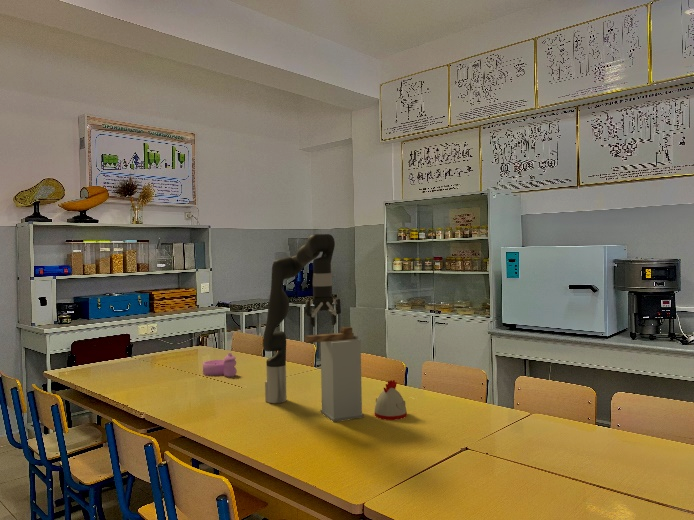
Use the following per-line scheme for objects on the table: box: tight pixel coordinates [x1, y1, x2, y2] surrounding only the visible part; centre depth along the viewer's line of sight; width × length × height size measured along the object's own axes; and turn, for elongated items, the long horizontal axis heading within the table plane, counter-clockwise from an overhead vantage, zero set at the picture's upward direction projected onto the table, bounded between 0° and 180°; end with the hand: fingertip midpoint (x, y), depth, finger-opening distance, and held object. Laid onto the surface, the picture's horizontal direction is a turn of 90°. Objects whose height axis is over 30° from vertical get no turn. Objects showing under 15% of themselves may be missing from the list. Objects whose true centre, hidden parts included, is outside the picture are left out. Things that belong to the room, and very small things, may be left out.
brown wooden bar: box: [304, 326, 355, 344], centre depth 232 cm, size 21×4×5 cm, turn 113°
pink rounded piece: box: [202, 352, 238, 378], centre depth 320 cm, size 25×15×13 cm, turn 49°
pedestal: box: [319, 334, 365, 423], centre depth 234 cm, size 14×15×34 cm
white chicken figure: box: [374, 379, 408, 421], centre depth 233 cm, size 14×14×15 cm
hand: (323, 325), depth 213 cm, fingers open, 8 cm apart
